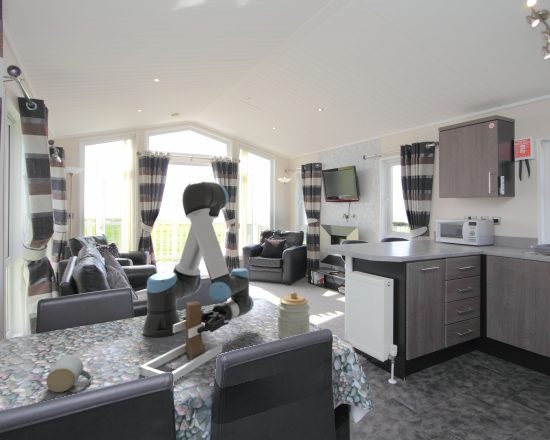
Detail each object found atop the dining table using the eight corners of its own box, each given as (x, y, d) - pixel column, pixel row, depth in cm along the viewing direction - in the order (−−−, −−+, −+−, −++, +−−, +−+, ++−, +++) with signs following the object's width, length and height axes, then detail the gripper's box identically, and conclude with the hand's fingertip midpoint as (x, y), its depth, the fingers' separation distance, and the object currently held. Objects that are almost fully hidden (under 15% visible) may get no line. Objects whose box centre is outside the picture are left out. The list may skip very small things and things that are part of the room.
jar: (300, 344, 123) (300, 298, 122) (271, 337, 130) (271, 293, 129) (315, 333, 134) (315, 290, 133) (287, 327, 141) (287, 286, 140)
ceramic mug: (44, 396, 89) (44, 368, 89) (54, 381, 97) (54, 355, 96) (88, 390, 92) (88, 363, 92) (94, 376, 100) (94, 351, 100)
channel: (139, 374, 101) (139, 366, 101) (195, 344, 123) (195, 338, 123) (168, 385, 95) (168, 376, 95) (222, 351, 117) (222, 344, 117)
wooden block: (205, 360, 110) (205, 307, 110) (191, 363, 108) (191, 309, 107) (198, 349, 118) (198, 300, 117) (185, 352, 116) (185, 301, 115)
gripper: (245, 326, 125) (203, 349, 105) (206, 316, 134) (161, 335, 114) (245, 307, 124) (203, 326, 104) (206, 298, 134) (161, 314, 114)
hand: (181, 331), depth 109 cm, fingers open, 6 cm apart
